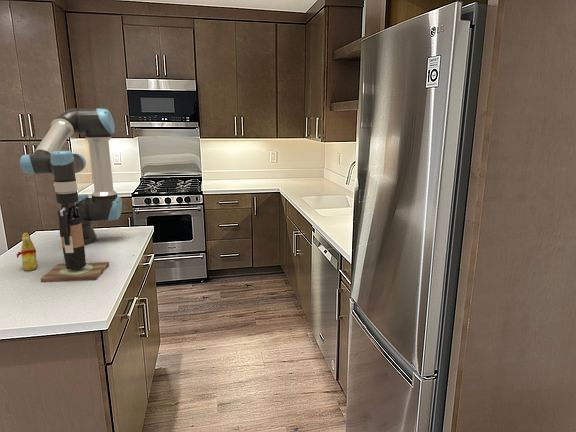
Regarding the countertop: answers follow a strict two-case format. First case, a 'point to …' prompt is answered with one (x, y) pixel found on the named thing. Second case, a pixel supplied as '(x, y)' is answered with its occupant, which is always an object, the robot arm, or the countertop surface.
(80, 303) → the countertop surface
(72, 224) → the travel mug
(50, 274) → the walnut board
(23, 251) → the chocolate bunny
